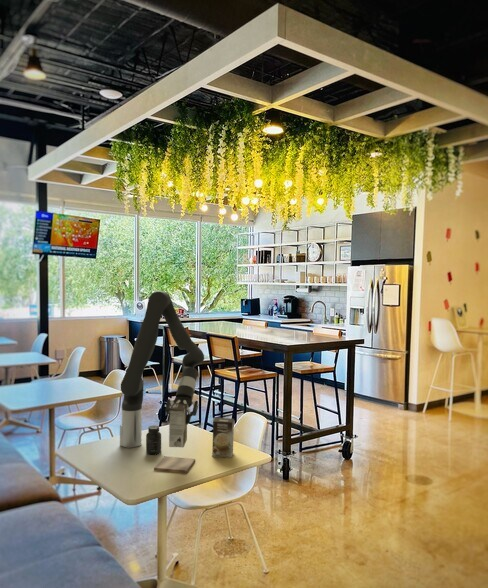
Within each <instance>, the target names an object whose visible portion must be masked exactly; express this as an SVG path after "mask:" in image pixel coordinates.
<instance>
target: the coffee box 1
mask: <svg viewBox="0 0 488 588" xmlns="http://www.w3.org/2000/svg"><path fill="white" fill-rule="evenodd" d="M169 410H170V412H169V414H168V415H169V422H168V424H169V428H168V431H169V432H168V433H169V435H168V447H169V448H184V447H185V445H186V442H187V441H188V425H187V424H186V417H187V414H188V412H187V404H182V403H173V404H172V406H171V407H170V409H169Z"/></svg>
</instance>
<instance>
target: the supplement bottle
mask: <svg viewBox="0 0 488 588" xmlns="http://www.w3.org/2000/svg"><path fill="white" fill-rule="evenodd" d="M147 429H148V430H147V431H148V432H147V433H146V435H145V436H146V437H145V453H146V455H148V456H158V455H160V454H161V453H162V433H161V432H160V426H159V425H150V426H148V428H147Z"/></svg>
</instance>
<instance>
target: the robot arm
mask: <svg viewBox="0 0 488 588" xmlns="http://www.w3.org/2000/svg"><path fill="white" fill-rule="evenodd" d="M143 317H144V318H143V320H142V323H141V325H140V328H139V330H138V333H137V335H136V340H135V342H134V345H133V349H132V353H131V355H130V360H129V363H128V367H127V368H126V371H125V373H124V376H123V377H122V380H121V383H120V392H121V393H122V394H123V399H122V402H121V403H122V404H121V425H120V426H119V446H121V447H124V448H137V447H140V446H141V445H142V441H143V439H142V433H143V432H142V429H143V428H142V427H143V425H142V423H143V419H142V418H143V417H142V415H143V413H142V412H143V402H144V380H143V373H144V371H145V368H146V367H147V364H148V363H149V361H150V359H151V357H152V355H153V353H154V350H155V347H156V344H157V340H158V335H159V326H160V321H161V318H162V317H163V319H164V320H165V322H166V324H167V327H168V329H169V333H170V335H171V337H172V340H173V341H174V343H175V344H176V346H177V347H178V349H179V351H180V350H181V351H182V350H183V351H184V350H185V351H186V352H187V353H186V354H184V356H183V358H182V362H181V363H182V364H181V366H182V374H181V377H180V379H179V382H178V385H177V389H176V394H175V398H174V399H173V400H172V399H170V398H168V399H167V400H166V406H165V413H166V414H167V415H168V416H167V422H168V423H169V412H170V410H169V409H170V408H171V406H172V404H173V403H182V404H187V417H186V424H187V426H188V425H189V424H190V423H191V418H192V417H193V416H197V413H198V409H199V402H198V400H195V401H193V399H194V395H195V391H196V385H197V383H196V382H197V379H198V374H199V373H198V370H197V368H195V367H196V366H198V365H201V364H202V363H204V361H205V354H204V352H203V350H202V349H201V348H200V347H199V346H198V345H197V344H196V343H195V342H194V341H193V340H192V338H191V337H190V335H189V333H188V331H187V330H186V327H185V326H184V324H183V323H182V321H181V319H180V317H179V315H178V313H177V312H176V309H175V306H174V304H173V301H172V298H171V296H170V294H169V293H168V292H167V291H164V290H155V291H154V292H152V293H151V294H150V295H149V297H148V300H147V303H146V310H145V314H144V316H143ZM192 406H193V408H192V411H191V410H190V407H192Z"/></svg>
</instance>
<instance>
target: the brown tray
mask: <svg viewBox="0 0 488 588" xmlns="http://www.w3.org/2000/svg"><path fill="white" fill-rule="evenodd" d="M195 462H196V458H192V457H191V458H189V457H178V456H167V455H166V456H165V455H164V456H163V457H162V458H161V459H160V460H159V462H158V463H157V464H156V465H155V466H154V467H153V471H155V472H164V473H165V472H166V473H177V474H187V473H189V471H190V470H191V468H192V467H193V465H194V464H195Z"/></svg>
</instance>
